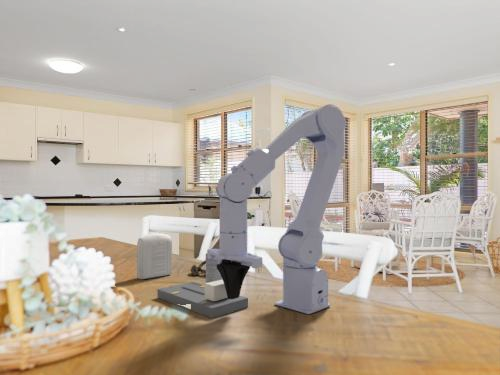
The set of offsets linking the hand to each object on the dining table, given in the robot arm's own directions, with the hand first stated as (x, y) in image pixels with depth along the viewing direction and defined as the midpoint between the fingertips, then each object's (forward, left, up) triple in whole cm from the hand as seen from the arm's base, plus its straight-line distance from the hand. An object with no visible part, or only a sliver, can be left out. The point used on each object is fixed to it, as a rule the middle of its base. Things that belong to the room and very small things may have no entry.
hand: (233, 297), depth 82 cm
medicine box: (+20, -14, -3) cm, 24 cm away
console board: (+11, 0, -3) cm, 11 cm away
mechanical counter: (+31, -21, -4) cm, 38 cm away
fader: (+5, 0, -1) cm, 5 cm away
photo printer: (+40, -6, -3) cm, 40 cm away
